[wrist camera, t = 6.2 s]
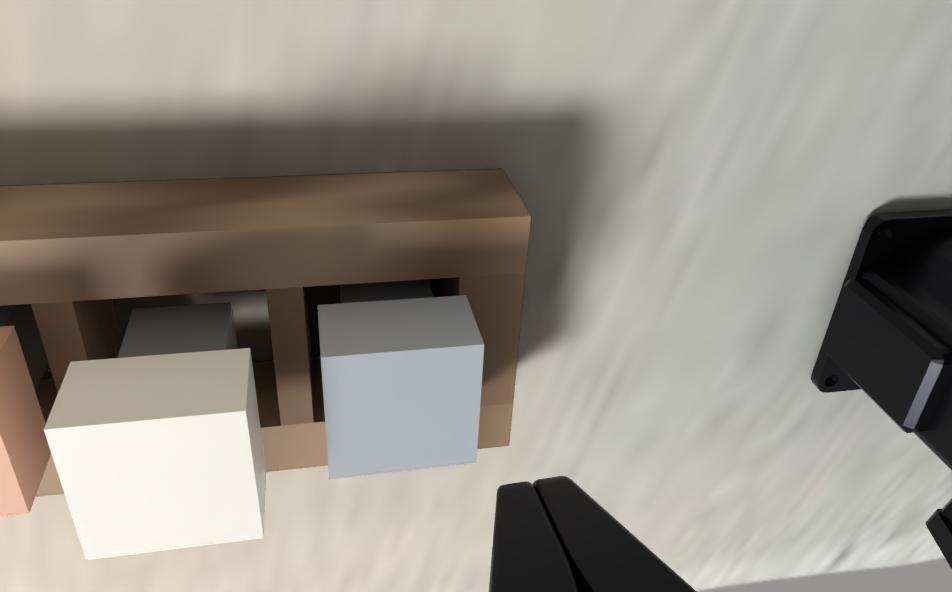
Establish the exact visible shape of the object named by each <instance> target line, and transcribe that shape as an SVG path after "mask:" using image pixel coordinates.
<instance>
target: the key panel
mask: <svg viewBox="0 0 952 592" xmlns="http://www.w3.org/2000/svg"><path fill="white" fill-rule="evenodd" d="M530 222H531V215H530V214H529V212H528V210H527V209H526V207H525V205H524V204H523V202H522V200H521V199H520V197H519V195H518V194H517V192H516V190H515V189H514V187H513V185H512V184H511V182H510V180H509V179H508V177H507V175H506V174H505V172H504V170H503V169H487V170H457V171H428V172H399V173H370V174H341V175H311V176H282V177H253V178H224V179H195V180H165V181H136V182H107V183H78V184H49V185H20V186H0V306H5V305H21V304H31V306H32V310H33V313H34V316H35V319H36V323H37V326H38V329H39V333H40V336H41V339H42V343H43V346H44V349H45V353H46V356H47V359H48V363H49V366H50V369H51V372H52V376H53V378H49V379H40V382H39V384H38V386H37V388H36V391H35V392H36V395H37V399H38V402H39V405H40V408H41V411H42V414H43V417H44V420H45V423H46V422H47V420H48V417H49V415H50V412H51V410H52V407H53V405H54V402H55V400H56V397H57V395H58V392H59V390H60V387H61V385H62V382H63V379H64V377H65V374H66V372H67V369H68V367H69V364H70V362H73V361H86V360H99V359H112V358H118V354H119V351H120V348H121V345H122V337H121V333H120V329H119V324H118V320H117V316H116V312H115V307H114V303H113V299H117V298H133V297H149V296H165V295H181V294H198V293H214V292H230V291H246V290H262V289H266V294H267V303H268V312H269V321H270V330H271V339H272V348H273V357H274V360H273V361H260V362H252V366H253V373H254V381H255V389H256V397H257V404H258V412H259V420H260V427H261V435H262V443H263V451H264V458H265V466H266V472H269V471H279V470H288V469H297V468H306V467H316V466H325V465H328V454H327V439H326V425H325V411H324V397H323V383H322V369H321V357H311V352H310V339H309V327H308V314H307V301H306V289H305V287H310V286H326V285H342V284H358V283H374V282H390V281H406V280H422V279H438V278H439V284H438V297H445V296H460V295H466V296H467V299H468V302H469V304H470V307H471V310H472V312H473V315H474V318H475V321H476V323H477V326H478V329H479V331H480V334H481V337H482V339H483V342H484V357H483V372H482V387H481V402H480V417H479V432H478V447H477V449H482V448H492V447H501V446H509V442H510V432H511V421H512V411H513V400H514V390H515V379H516V369H517V358H518V348H519V337H520V327H521V316H522V306H523V295H524V285H525V274H526V264H527V254H528V243H529V233H530ZM57 494H64V491H63V488H62V485H61V482H60V478H59V475H58V472H57V469H56V466H55V463H54V460H53V457H52V454H51V455H50V458H49V461H48V463H47V466H46V469H45V472H44V474H43V477H42V480H41V482H40V485H39V488H38V491H37V493H36V496H35V497H38V496H47V495H57Z"/></svg>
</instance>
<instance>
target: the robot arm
mask: <svg viewBox="0 0 952 592" xmlns="http://www.w3.org/2000/svg"><path fill="white" fill-rule="evenodd" d="M883 228H884V229H883ZM882 229H883V231H882V232H881V233H880V234H879V232H880V231H881V230H882ZM878 234H879V235H878ZM811 380H812V383H813V384H814V385H815V386H816V387H817V388H818V389H819V390H820V391H822V392H837V391H847V390H857V389H862V390H863V391H864V392H865V393H866V394H867V395H868V396H869V397H870V398H871V399H872V400H873V401H874V402H875V403H876V404H877V405H878V406H879V407H880V408H881V409H882V410H883V411H884V412H885V413H886V414H887V415H888V416H889V417H890V418H891V419H892V420H893V421H894V422H895V423H896V424H897V425H898V426H899V427H900V428H901V429H902V430H903V431H905V432H906V433H911V432H914V433H915V434H916V435H917V436H918V437H919V438H920V439H921V440H922V441H923V442H924V443H925V444H926V445H927V446H928V447H929V448H930V449H931V450H932V451H933V452H934V453H935V454H936V455H937V456H938V457H939V458H940V459H941V460H942V461H943V462H944V463H945V464H946V465H947V466H948V467H949V468H950V469H951V470H952V210H938V211H918V212H899V213H882V214H878V215H875V216H873V217H872V218H870V219H869V220H868V221H867V222H866V223H865V225H864V227H863V229H862V232H861V235H860V237H859V240H858V243H857V246H856V249H855V252H854V255H853V257H852V260H851V263H850V266H849V269H848V272H847V275H846V278H845V280H844V283H843V286H842V289H841V292H840V295H839V298H838V301H837V303H836V306H835V309H834V312H833V315H832V318H831V321H830V323H829V326H828V329H827V332H826V335H825V338H824V341H823V344H822V346H821V349H820V352H819V355H818V358H817V361H816V364H815V366H814V369H813V372H812V375H811ZM926 526H927V528H928V529H929V531H930V533H931V534H932V536H933V538H934V539H935V541H936V543H937V545H938V546H939V548H940V550H941V551H942V553H943V555H944V556H945V558H946V560H947V562H948V563H949V565H950V567H951V568H952V499H951V500H950V501H949V502H948V503H947V504H946V506H945V507H944V508H943V509H937V510H936V511H935V512H934V514H933V515H932V516H931V517H930V518H929V519H928V520H927V522H926ZM489 592H696V591H695V590H694V589H693V588H692V587H691V586H690V585H688V584H687V583H686V582H685V581H684V580H683V579H682V578H681V577H680V576H678V575H677V574H676V573H675V572H674V571H673V570H672V569H671V568H669V567H668V566H667V565H666V564H665V563H664V562H663V561H662V560H661V559H659V558H658V557H657V556H656V555H655V554H654V553H653V552H652V551H650V550H649V549H648V548H647V547H646V546H645V545H644V544H643V543H642V542H640V541H639V540H638V539H637V538H636V537H635V536H634V535H633V534H631V533H630V532H629V531H628V530H627V529H626V528H625V527H624V526H623V525H621V524H620V523H619V522H618V521H617V520H616V519H615V518H614V517H612V516H611V515H610V514H609V513H608V512H607V511H606V510H605V509H604V508H602V507H601V506H600V505H599V504H598V503H597V502H596V501H595V500H593V499H592V498H591V497H590V496H589V495H588V494H587V493H586V492H584V491H583V490H582V489H581V488H580V487H579V486H578V485H577V484H576V483H574V482H573V481H572V480H571V479H570V478H568V477H565V476H559V477H552V478H546V479H539V480H536V481H535V482H534V483H533V485H532V484H531V483H530V482H520V483H513V484H507V485H502V486H500V487H499V488H498V490H497V499H496V511H495V523H494V535H493V547H492V559H491V571H490V583H489Z"/></svg>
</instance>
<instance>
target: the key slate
mask: <svg viewBox="0 0 952 592" xmlns="http://www.w3.org/2000/svg"><path fill="white" fill-rule="evenodd" d="M340 296H341V304H326V305H318V321H319V338H320V354H321V369H322V383H323V397H324V411H325V425H326V439H327V454H328V468H329V479H335V478H344V477H353V476H362V475H371V474H380V473H389V472H398V471H407V470H416V469H425V468H434V467H443V466H452V465H461V464H470V463H476V462H477V447H478V432H479V417H480V402H481V387H482V372H483V357H484V342H483V339H482V337H481V334H480V331H479V329H478V326H477V323H476V321H475V318H474V315H473V312H472V310H471V307H470V304H469V302H468V299H467V296H466V295H460V296H445V297H433V293H432V290H431V287H430V283H429V280H428V279H422V280H406V281H390V282H374V283H358V284H342V285H340Z"/></svg>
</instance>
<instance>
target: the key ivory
mask: <svg viewBox="0 0 952 592" xmlns="http://www.w3.org/2000/svg"><path fill="white" fill-rule="evenodd" d="M44 432H45V435H46V438H47V442H48V445H49V448H50V451H51V454H52V457H53V460H54V463H55V466H56V469H57V472H58V475H59V478H60V482H61V485H62V488H63V491H64V494H65V497H66V500H67V503H68V506H69V509H70V512H71V515H72V519H73V522H74V525H75V528H76V531H77V534H78V537H79V540H80V543H81V546H82V549H83V552H84V555H85V559H86V560H92V559H100V558H108V557H116V556H124V555H132V554H140V553H148V552H156V551H164V550H172V549H180V548H188V547H196V546H204V545H212V544H220V543H228V542H236V541H244V540H252V539H260V538H264V512H265V482H266V466H265V458H264V451H263V443H262V435H261V427H260V420H259V412H258V404H257V397H256V389H255V381H254V373H253V366H252V358H251V350H250V348H242V349H238V345H237V338H236V331H235V324H234V317H233V310H232V302H230V303H215V304H199V305H184V306H168V307H153V308H138V309H133V310H132V313H131V316H130V319H129V322H128V326H127V329H126V332H125V335H124V338H123V342H122V345H121V348H120V351H119V354H118V358H112V359H99V360H86V361H73V362H70V364H69V367H68V369H67V372H66V374H65V377H64V379H63V382H62V385H61V387H60V390H59V392H58V395H57V397H56V400H55V402H54V405H53V407H52V410H51V412H50V415H49V417H48V420H47V422H46V425H45V427H44Z"/></svg>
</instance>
